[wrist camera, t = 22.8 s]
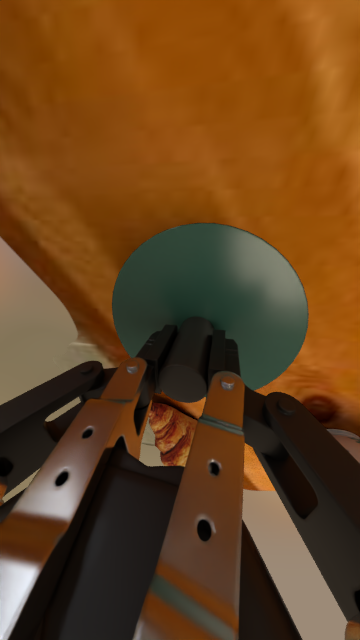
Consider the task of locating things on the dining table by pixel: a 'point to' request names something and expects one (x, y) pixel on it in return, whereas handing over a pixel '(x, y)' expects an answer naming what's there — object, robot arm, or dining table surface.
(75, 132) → the dining table surface
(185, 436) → the croissant
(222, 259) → the lid
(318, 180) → the dining table surface
